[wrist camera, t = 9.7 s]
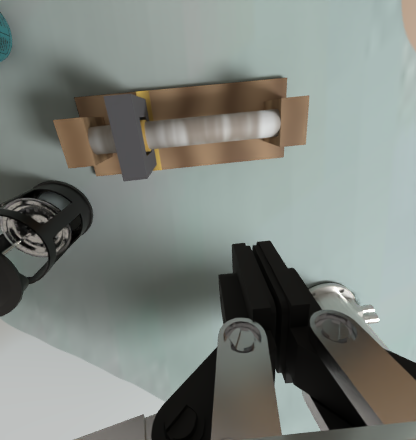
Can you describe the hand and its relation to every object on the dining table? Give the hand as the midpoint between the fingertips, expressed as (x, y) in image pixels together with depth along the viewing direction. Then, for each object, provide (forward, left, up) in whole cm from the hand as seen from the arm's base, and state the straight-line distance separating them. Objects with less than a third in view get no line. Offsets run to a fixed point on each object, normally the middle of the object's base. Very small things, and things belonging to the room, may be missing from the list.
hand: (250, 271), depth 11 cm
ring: (+8, -5, -24) cm, 26 cm away
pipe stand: (+3, -5, -26) cm, 27 cm away
